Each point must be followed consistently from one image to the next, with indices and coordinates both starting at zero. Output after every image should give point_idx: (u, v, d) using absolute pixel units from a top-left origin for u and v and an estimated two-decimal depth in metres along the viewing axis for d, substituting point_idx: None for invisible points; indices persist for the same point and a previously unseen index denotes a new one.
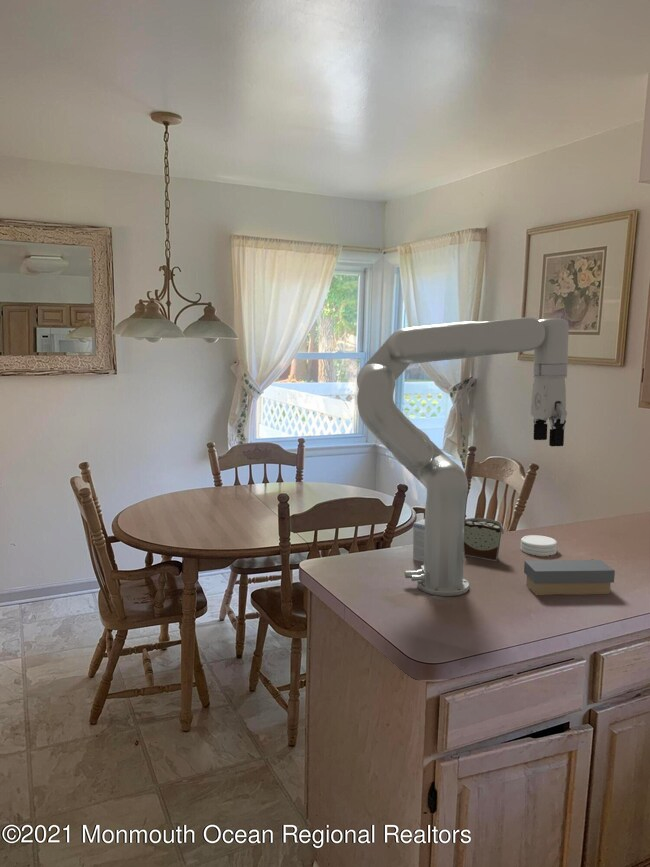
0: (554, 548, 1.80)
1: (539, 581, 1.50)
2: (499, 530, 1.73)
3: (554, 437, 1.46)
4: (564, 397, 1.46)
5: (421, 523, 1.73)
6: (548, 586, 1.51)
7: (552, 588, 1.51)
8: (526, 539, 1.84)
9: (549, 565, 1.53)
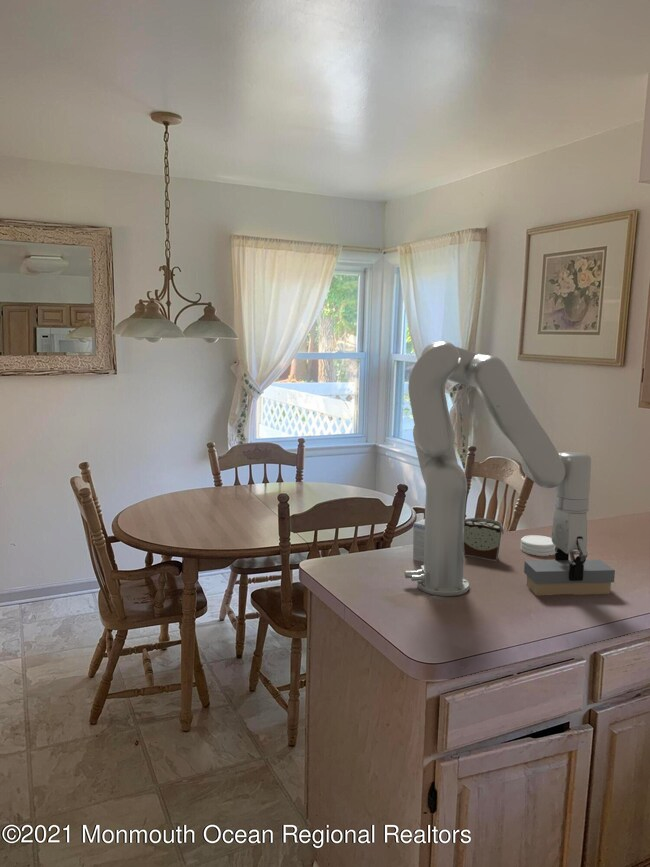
0: (554, 548, 1.80)
1: (540, 581, 1.50)
2: (499, 530, 1.73)
3: (573, 572, 1.49)
4: (586, 532, 1.48)
5: (421, 523, 1.73)
6: (548, 586, 1.51)
7: (552, 588, 1.51)
8: (526, 539, 1.84)
9: (549, 565, 1.53)
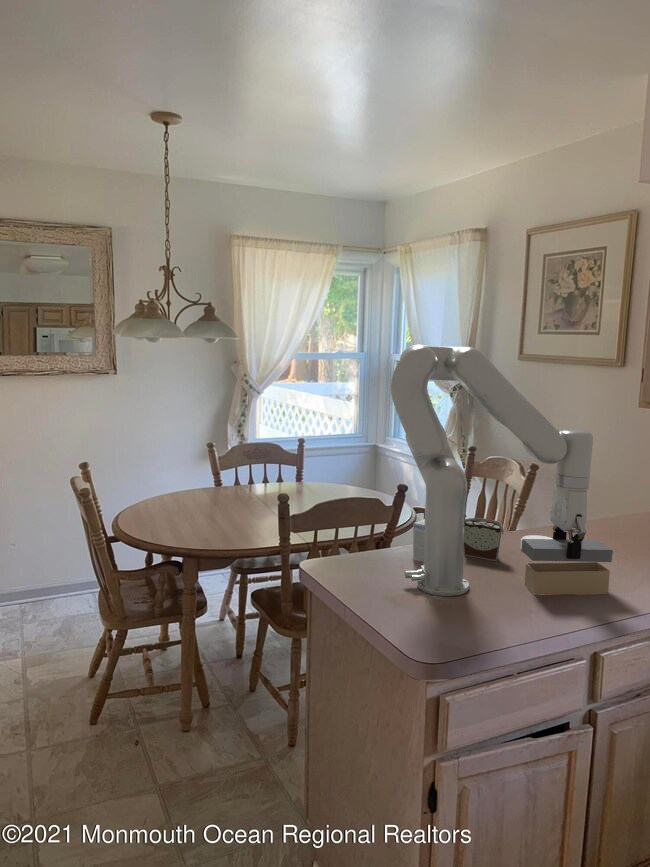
0: None
1: (537, 558, 1.49)
2: (499, 530, 1.73)
3: (571, 550, 1.48)
4: (585, 510, 1.47)
5: (421, 524, 1.73)
6: (546, 586, 1.51)
7: (550, 588, 1.51)
8: None
9: (547, 544, 1.53)
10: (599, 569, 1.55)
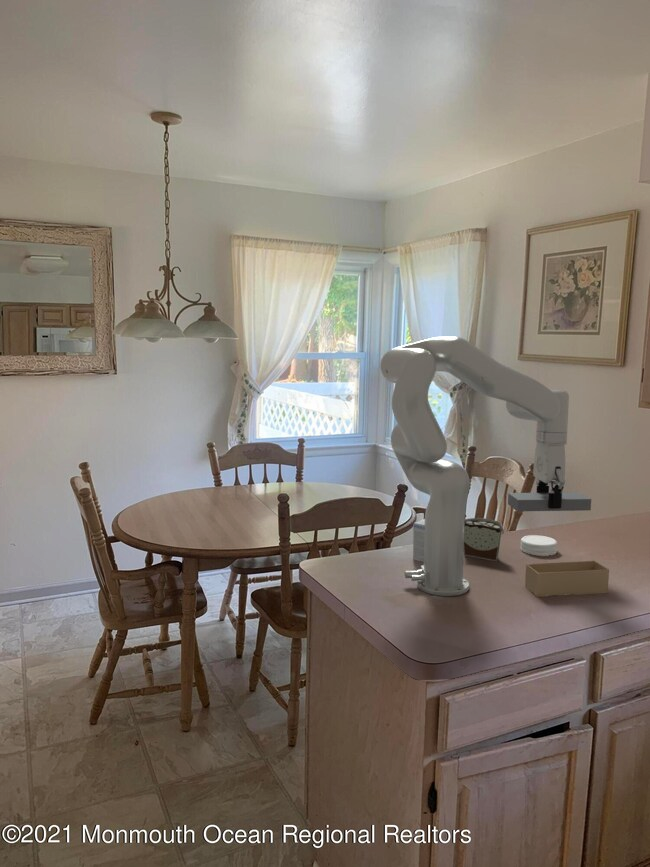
0: (554, 548, 1.80)
1: (521, 509, 1.62)
2: (499, 530, 1.73)
3: (552, 500, 1.61)
4: (564, 463, 1.59)
5: (421, 523, 1.73)
6: (549, 587, 1.50)
7: (552, 589, 1.50)
8: (526, 539, 1.84)
9: (530, 496, 1.65)
10: (597, 568, 1.56)
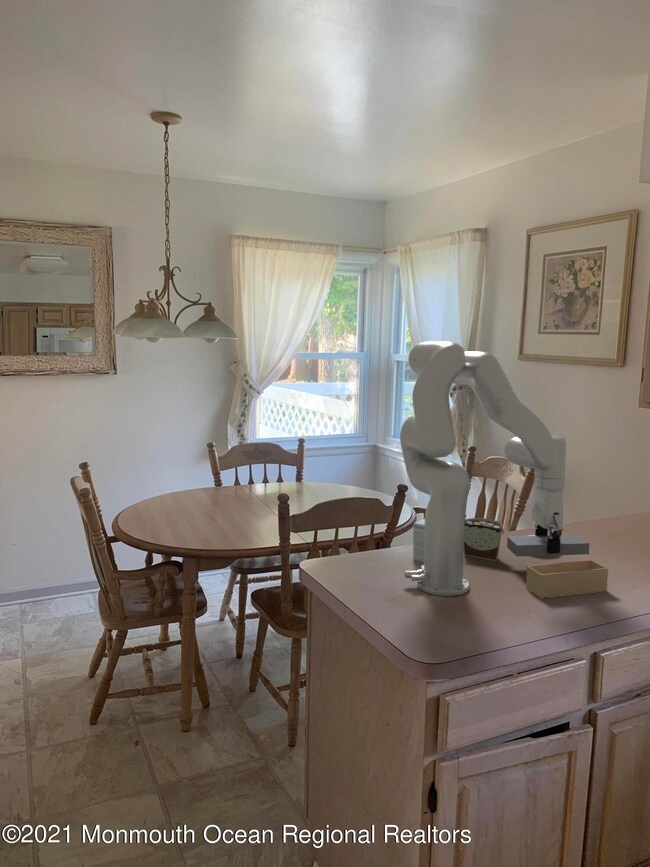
0: None
1: (521, 554, 1.64)
2: (499, 530, 1.73)
3: (551, 546, 1.63)
4: (562, 509, 1.61)
5: (421, 523, 1.73)
6: (552, 588, 1.49)
7: (555, 590, 1.50)
8: None
9: (529, 540, 1.67)
10: (594, 567, 1.57)
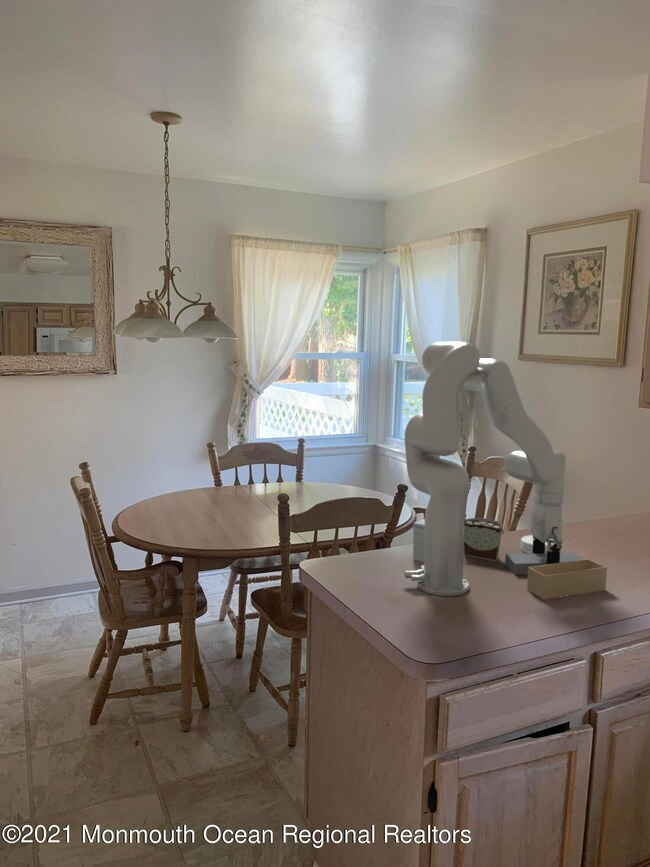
0: None
1: (519, 572, 1.64)
2: (499, 530, 1.73)
3: (550, 559, 1.62)
4: (560, 523, 1.62)
5: (421, 523, 1.73)
6: (555, 589, 1.49)
7: (558, 591, 1.49)
8: (526, 539, 1.84)
9: (528, 558, 1.68)
10: (592, 566, 1.58)
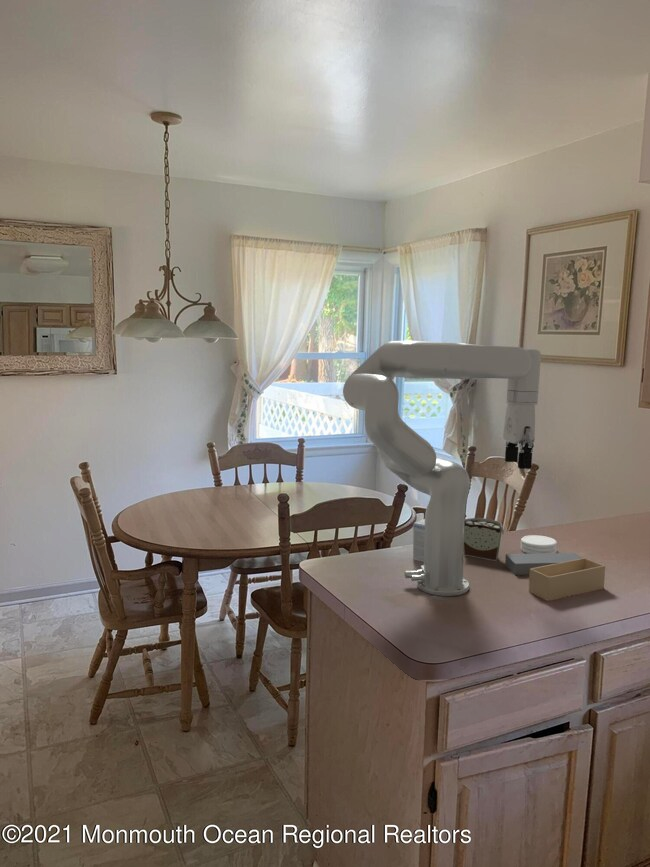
0: (554, 548, 1.80)
1: (519, 572, 1.64)
2: (499, 530, 1.73)
3: (522, 460, 1.55)
4: (533, 423, 1.55)
5: (421, 523, 1.73)
6: (558, 590, 1.48)
7: (561, 591, 1.49)
8: (526, 539, 1.84)
9: (528, 558, 1.68)
10: (589, 565, 1.58)
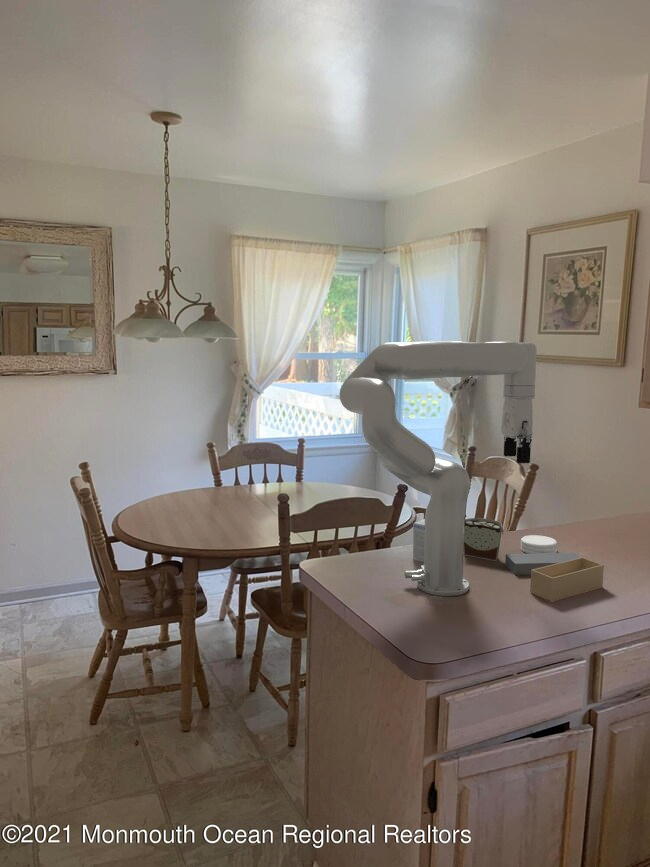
0: (554, 548, 1.80)
1: (519, 572, 1.64)
2: (499, 530, 1.73)
3: (521, 455, 1.55)
4: (531, 417, 1.54)
5: (421, 524, 1.73)
6: (560, 591, 1.48)
7: (563, 592, 1.49)
8: (526, 539, 1.84)
9: (528, 558, 1.68)
10: (587, 564, 1.59)
